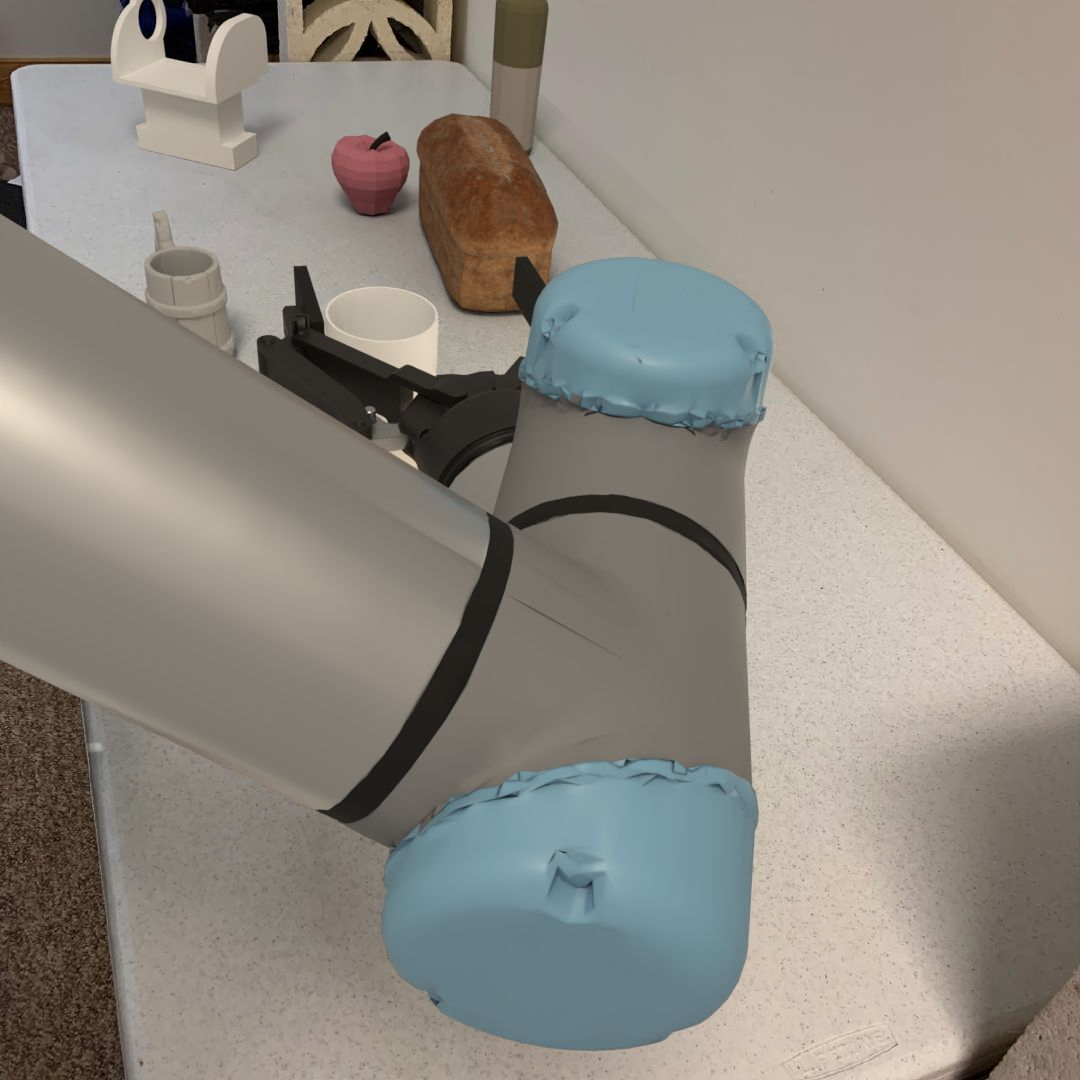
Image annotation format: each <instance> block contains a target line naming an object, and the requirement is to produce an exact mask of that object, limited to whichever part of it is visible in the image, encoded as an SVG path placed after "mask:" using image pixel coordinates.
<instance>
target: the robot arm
mask: <svg viewBox="0 0 1080 1080" xmlns="http://www.w3.org/2000/svg"><path fill="white" fill-rule="evenodd" d="M293 284H294V300H295V305H284V307H283V309H282V327H283V335H284V337H283V338H279V337H278V336H277V335H274V334H273V335H272V334H263V335H261V336H259V337H257V339H256V351H257V353H256V354H257V364H258V370H256V369H254V368H253V367H251V366H250V365H248V364H247V363H246V362H245V363H244V362H243V361H241V360H240V359H238V358H236V357H235V356H232V355H230V354H228V353H227V352H225V351H223V350H222V349H220V348H219V347H217V346H215V345H214V344H212V343H210V342H209V341H207V340H205V339H204V338H202V337H201V336H199V335H197V334H196V333H194V332H192V331H191V330H189V329H187V328H186V327H184V326H183V325H181V324H179V323H178V322H176V321H174V320H173V319H171V318H169V317H168V316H166V315H165V314H163V313H161V312H160V311H158V310H156V309H155V308H153V307H151V306H150V305H148V304H147V302H146V301H143V300H142V299H140V298H139V297H137V296H135V295H133V294H132V293H130V292H129V291H128V290H125V289H123V288H122V287H121V286H119V285H117V284H116V283H115V282H112V281H110V280H109V279H107V278H106V277H104V276H102V275H101V274H99V273H97V272H96V271H94V270H93V269H91V268H90V267H88V266H87V265H84V264H83V263H81V262H80V261H78V260H77V259H75V258H73V257H71V256H69V255H68V254H67V253H65V252H63V251H62V250H60V249H58V248H57V247H55V246H53V245H52V244H50V243H48V242H47V241H45V240H44V239H42V238H40V237H39V236H37V235H35V234H33V233H32V232H31V231H29V230H27V229H26V228H25V227H23V226H21V225H19V224H17V223H16V222H14V221H12V220H11V219H9V218H8V217H6V216H4V215H3V214H1V213H0V661H2V662H3V663H6V664H8V665H10V666H12V667H14V668H16V669H19V670H21V671H23V672H25V673H27V674H29V675H30V676H33V677H35V678H37V679H39V680H41V681H44V682H46V683H47V684H50V685H52V686H54V687H56V688H58V689H60V690H62V691H65V692H66V693H69V694H70V695H73V696H74V697H77V698H79V699H81V700H83V701H85V702H88V703H90V704H91V705H94V706H95V707H98V708H100V709H102V710H104V711H106V712H108V713H110V714H113V715H115V716H117V717H119V718H120V719H123V720H124V721H127V722H129V723H131V724H134V725H135V726H138V727H140V728H141V729H144V730H146V731H148V732H150V733H152V734H153V735H154V734H155V735H157V736H159V737H161V738H163V739H164V740H166V741H169V742H171V743H173V744H175V745H178V746H180V747H182V748H184V749H185V750H188V751H190V752H192V753H194V754H196V755H198V756H200V757H202V758H204V759H206V760H209V761H211V762H213V763H215V764H217V765H219V766H221V767H223V768H225V769H227V770H229V771H232V772H234V773H236V774H238V775H240V776H242V777H243V778H246V779H248V780H251V781H252V782H255V783H257V784H259V785H261V786H263V787H265V788H267V789H270V790H271V791H274V792H275V793H278V794H280V795H281V796H284V797H287V798H288V799H290V800H292V801H294V802H297V803H298V804H301V805H303V806H305V807H307V808H309V809H311V810H313V811H315V812H318V813H320V814H322V815H324V816H326V817H328V818H331V819H333V820H336V821H337V822H338V823H340V824H342V825H343V826H345V827H347V828H349V829H351V830H352V831H354V832H356V833H357V834H359V835H362V836H363V837H365V838H367V839H369V840H371V841H374V842H376V843H378V844H381V845H383V846H385V847H386V848H389V852H388V856H387V859H386V863H385V865H384V874H383V877H382V879H381V881H382V883H383V884H384V887H385V889H386V892H385V895H384V900H383V903H382V909H381V918H380V932H381V938H382V942H383V944H384V948H385V952H386V955H387V959H388V961H389V963H390V964H391V966H392V967H393V969H394V970H395V972H396V973H397V975H398V976H399V978H400V979H401V980H403V981H404V982H406V983H407V984H409V985H410V986H411V987H413V988H415V989H417V990H420V991H424V992H426V994H427V998H428V1000H429V1002H430V1003H431V1004H432V1005H433V1006H435V1008H436V1009H437V1010H438V1011H439V1012H440V1013H441V1014H442V1015H445V1016H447V1017H448V1018H450V1019H452V1020H454V1021H456V1022H458V1023H460V1024H462V1025H465V1026H467V1027H470V1028H471V1029H475V1030H477V1031H480V1032H482V1033H484V1034H487V1035H491V1036H494V1037H498V1038H500V1039H504V1040H507V1041H512V1042H515V1043H520V1044H525V1045H528V1046H533V1047H539V1048H547V1049H554V1050H563V1051H579V1052H582V1051H583V1052H602V1051H603V1052H604V1051H618V1050H619V1051H620V1050H629V1049H635V1048H639V1047H644V1046H649V1045H653V1044H658V1043H661V1042H663V1041H665V1040H666V1039H667V1038H669V1037H670V1036H671V1035H672V1034H673V1033H676V1032H679V1031H683V1030H687V1029H690V1028H693V1027H695V1026H698V1025H700V1024H703V1022H705V1021H707V1020H708V1019H710V1018H711V1017H712V1016H713V1015H714V1014H715V1013H716V1012H717V1011H718V1010H719V1009H720V1008H721V1007H722V1006H723V1005H724V1004H725V1003H726V1002H727V1001H728V1000H729V999H730V996H731V995H732V994H733V992H734V991H735V989H736V987H737V986H738V984H739V982H740V979H741V977H742V974H743V970H744V967H745V964H746V962H747V958H748V952H749V941H750V940H749V939H750V924H751V923H750V921H751V908H752V907H751V905H752V904H751V903H752V889H753V888H752V887H753V874H754V873H753V872H754V869H753V868H754V857H755V856H754V853H755V838H756V837H755V836H756V830H757V827H758V825H759V816H760V812H759V805H758V804H759V803H758V797H757V792H756V790H755V788H754V786H753V773H752V772H753V771H752V769H753V768H752V745H751V724H750V723H751V721H750V699H749V698H750V697H749V696H750V695H749V694H750V693H749V672H748V670H749V669H748V651H747V649H748V647H747V609H748V595H747V594H748V592H747V590H748V589H747V586H748V585H747V531H746V530H747V529H746V527H747V526H746V487H745V483H746V482H745V477H746V467H747V460H748V455H749V450H750V446H751V442H752V439H753V436H754V434H755V430H757V429H756V428H757V427H758V425H759V424H760V423H761V422H763V421H764V419H765V417H766V412H767V404H766V401H765V395H766V391H767V388H768V387H767V386H768V382H769V378H770V374H771V369H772V366H773V363H774V359H775V353H776V339H775V334H774V329H773V326H772V324H771V322H770V320H769V317H768V316H767V314H766V313H765V311H764V310H763V309H762V307H761V306H760V305H759V304H758V303H757V302H756V301H755V300H754V299H753V298H751V296H750V295H749V294H748V293H746V292H745V291H743V290H742V289H740V288H739V287H737V286H735V284H733V283H731V282H729V281H727V280H726V279H723V278H721V277H720V276H717V275H716V274H713V273H711V272H708V271H706V270H703V269H700V268H697V267H695V266H692V265H687V264H685V263H680V262H673V261H667V260H664V259H663V260H662V259H656V258H649V257H641V256H620V257H619V256H618V257H607V258H599V259H595V260H591V261H587V262H584V263H580V264H576V265H573V266H571V267H569V268H567V269H565V270H564V271H562V272H560V273H559V274H558V275H556V276H555V277H554V278H552V279H550V281H548V284H547V285H546V284H545V283H544V281H543V280H542V278H541V277H540V275H539V274H538V272H537V270H536V269H535V267H534V266H533V264H532V263H531V261H530V260H529V258H528V257H527V256H525V257H516V261H515V270H514V280H513V290H512V297H513V299H514V301H515V302H516V304H517V306H518V307H519V309H520V310H519V311H520V312H521V314H522V316H523V317H524V319H525V321H526V323H527V324H528V326H529V328H530V329H529V335H528V339H527V340H528V341H527V346H526V352H525V356H522V355H519V357H518V358H517V359H516V360H515V361H514V362H513V363H512V364H511V366H510V367H508V369H507V370H506V371H505V373H504V374H503V373H501V374H498V373H495V371H494V370H482V371H476V372H472V373H468V374H459V373H443V374H436V376H433V375H431V374H429V373H427V372H425V371H422V370H420V369H418V368H416V367H413V366H411V365H408V364H407V365H404V366H402V367H401V368H397V367H395V366H392V365H390V364H388V363H386V362H384V361H381V360H379V359H377V358H375V357H372V356H370V355H368V354H366V353H364V352H361V351H359V350H357V349H355V348H353V347H350V346H348V345H346V344H344V343H342V342H339V341H337V340H335V339H333V338H331V337H328V336H326V330H325V318H324V316H323V313H322V310H321V307H320V304H319V300H318V297H317V294H316V291H315V288H314V284H313V281H312V279H311V276H310V272H309V269H308V265H293ZM414 392H416V393H418V394H417V395H416V397H415V398H414V399H413V396H414ZM376 414H379V415H381V416H383V417H384V418H386V420H387V421H388V423H387V422H385V421H383V420H382V419H380V418H379V417H378V416H376ZM396 450H402V451H403V452H404V453H405V454H406V455H408V456H409V457H410V458H412V459H413V460H414V461H415V462H416V464H417V467H418V469H416V468H415V467H413V466H411V465H410V464H408V463H407V462H405V461H403V460H402V459H400V458H398V457H397V456H395V455H393V454H392V453H390V451H396Z"/></svg>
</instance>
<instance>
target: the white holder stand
mask: <svg viewBox="0 0 1080 1080" xmlns="http://www.w3.org/2000/svg"><path fill="white" fill-rule="evenodd" d="M143 1H144V0H129V3H128V4H127V5H126V6H125V7H124V8H123V10H122V11H121V13H120V14H119V16H118V18H117V20H116V23H115V26H114V28H113V34H112V37H111V43H110V44H111V45H110V66H111V73H112V80H113V82H114V83H118V84H123V85H126V86H127V85H128V86H130V87H131V86H132V87H136V88H140V90H141V96H142V97H141V98H142V103H143V109H144V116H145V117H144V118H145V121H143V122H141V123H139V124H137V125H136V126H135V129H136V135H137V139H138V140H137V142H138V148H139V149H140V150H144V151H149V152H153V153H158V154H162V155H166V156H171V157H176V158H180V159H184V160H188V161H193V162H196V163H201V164H204V165H209V166H213V167H218V168H222V169H227V170H231V171H236V170H239V168H241V167H243V166H244V165H246V164H247V163H249V162H250V161H253V159H255V158H257V157H259V151H258V140H257V133H254V132H250V131H246V128H245V119H244V108H243V107H244V106H243V95H242V92H243V91H244V90H247V89H248V88H250V87H253V86H254V85H256V84H258V83H259V78H260V77H262V76H264V75H266V74H268V73H269V72H270V70H269V69H270V68H269V57H268V55H269V53H268V43H267V42H268V41H267V31H266V26H265V24H264V22H263V20H262V18H261V17H260V16H258V15H256V14H252V13H246V12H243V13H240V14H237V15H236V16H233V17H232V18H228V19H227V20H226V21H225V20H224V21H223V23H222V24H220V26H219V27H218V29H217V30H216V31H215V33H214V34H213V37H212V39H211V42H210V45H209V47H208V51H207V55H206V59H205V65H201V64H197V63H192V62H188V61H183V60H178V59H174V58H169V57H166V51H165V43H164V36H165V34H166V28H167V13H166V12H167V11H166V7H165V4H164V1H163V0H151V2H152V4H153V6H154V9H155V16H156V24H155V28H154V31H153V34H152V35H151V36H150V37H149V38H146V37H145V36H144V35H143V33H142V30H141V27H140V22H139V21H140V20H139V11H140V8H141V5H142V3H143Z"/></svg>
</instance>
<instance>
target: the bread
mask: <svg viewBox="0 0 1080 1080" xmlns="http://www.w3.org/2000/svg"><path fill="white" fill-rule="evenodd" d="M415 151H416V155H417V158H418V160H419V169H418V217H419V220H420V222H421V223H420V224H421V225H422V227H423V229H424V232H425V234H426V237H427V240H428V243H429V245H430V248H431V251H432V253H433V256H434V258H435V261H436V262H437V264H438V266H439V269H440V272H441V275H442V278H443V282H444V285H445V288H446V290H447V291H448V293H449V294H450V296H451V298H452V299H453V300H454V301H455V302H456V303H457V304H458V305H459V306H460V307H461V308H462V309H463V310H464V309H465V310H470V311H478V312H495V313H496V312H497V313H498V312H500V313H501V312H502V313H504V312H515V311H520V309H519V307H518V306H517V304H516V302H515V301H514V299H513V297H512V290H513V280H514V270H515V261H516V257H525V256H527V257H528V258H529V260H530V261H531V263H532V264H533V266H534V267H535V269H536V270H537V272H538V274H539V275H540V277H541V278H542V280H543V281H544V283H545V284H546V285H547V284H548V283H549V280H550V279H549V278H550V273H551V266H552V255H553V253H552V252H553V248H554V245H555V242H556V239H557V234H558V230H559V220H558V216H557V214H556V209H555V208H554V206H553V203H552V201H551V198H550V196H549V194H548V192H547V189H546V186H545V184H544V181H543V180H542V179H541V176H540V175H539V173H538V172H537V170H536V168H535V166H534V164H533V162H532V160H531V159H530V157H529V154H528V155H527V154H526V152H525V150H524V149H523V147H522V146H521V144H520V142H519V141H518V140H517V139H516V137H515V136H514V134H513V133H512V132H511V130H510V129H509V128H508V127H507V126H505V125H504V124H502V123H501V122H499V121H498V120H497V119H494V118H490V116H483V115H468V114H460V113H452V112H451V113H449V114H446V115H444V116H441V117H438V118H436V119H434V120H433V121H431V122H429V124H427V125H426V126H425V127H424V128H423V129H422V130H421V131H420V134H419V135H418V138H417V140H416V148H415Z"/></svg>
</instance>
